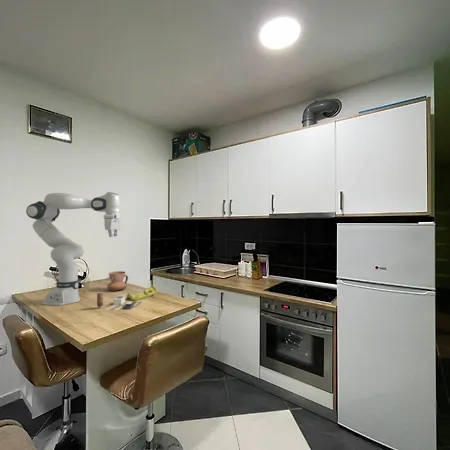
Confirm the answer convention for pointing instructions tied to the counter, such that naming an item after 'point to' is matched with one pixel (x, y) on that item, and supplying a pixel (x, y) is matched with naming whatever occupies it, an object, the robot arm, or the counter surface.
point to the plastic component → (143, 294)
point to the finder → (119, 300)
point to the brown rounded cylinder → (99, 300)
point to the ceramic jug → (117, 281)
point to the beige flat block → (124, 306)
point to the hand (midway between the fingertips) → (113, 236)
